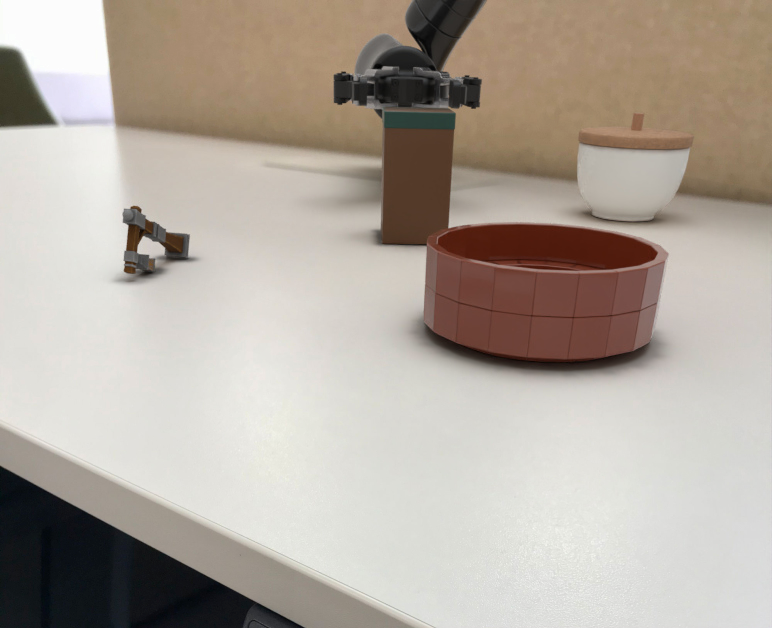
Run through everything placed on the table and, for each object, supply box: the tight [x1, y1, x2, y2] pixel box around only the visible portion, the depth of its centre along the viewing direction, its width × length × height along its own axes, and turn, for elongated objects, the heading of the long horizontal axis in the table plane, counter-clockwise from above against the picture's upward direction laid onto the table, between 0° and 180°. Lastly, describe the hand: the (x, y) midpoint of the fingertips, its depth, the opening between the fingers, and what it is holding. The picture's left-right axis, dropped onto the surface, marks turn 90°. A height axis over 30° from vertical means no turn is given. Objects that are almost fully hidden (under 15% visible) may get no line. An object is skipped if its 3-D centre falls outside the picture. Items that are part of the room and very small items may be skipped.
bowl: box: [422, 221, 670, 363], centre depth 47 cm, size 13×13×5 cm
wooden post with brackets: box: [122, 205, 191, 275], centre depth 59 cm, size 2×8×4 cm, turn 167°
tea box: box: [380, 106, 457, 245], centre depth 69 cm, size 6×6×10 cm
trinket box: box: [576, 112, 694, 222], centre depth 80 cm, size 11×11×9 cm
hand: (410, 94), depth 74 cm, fingers open, 8 cm apart
